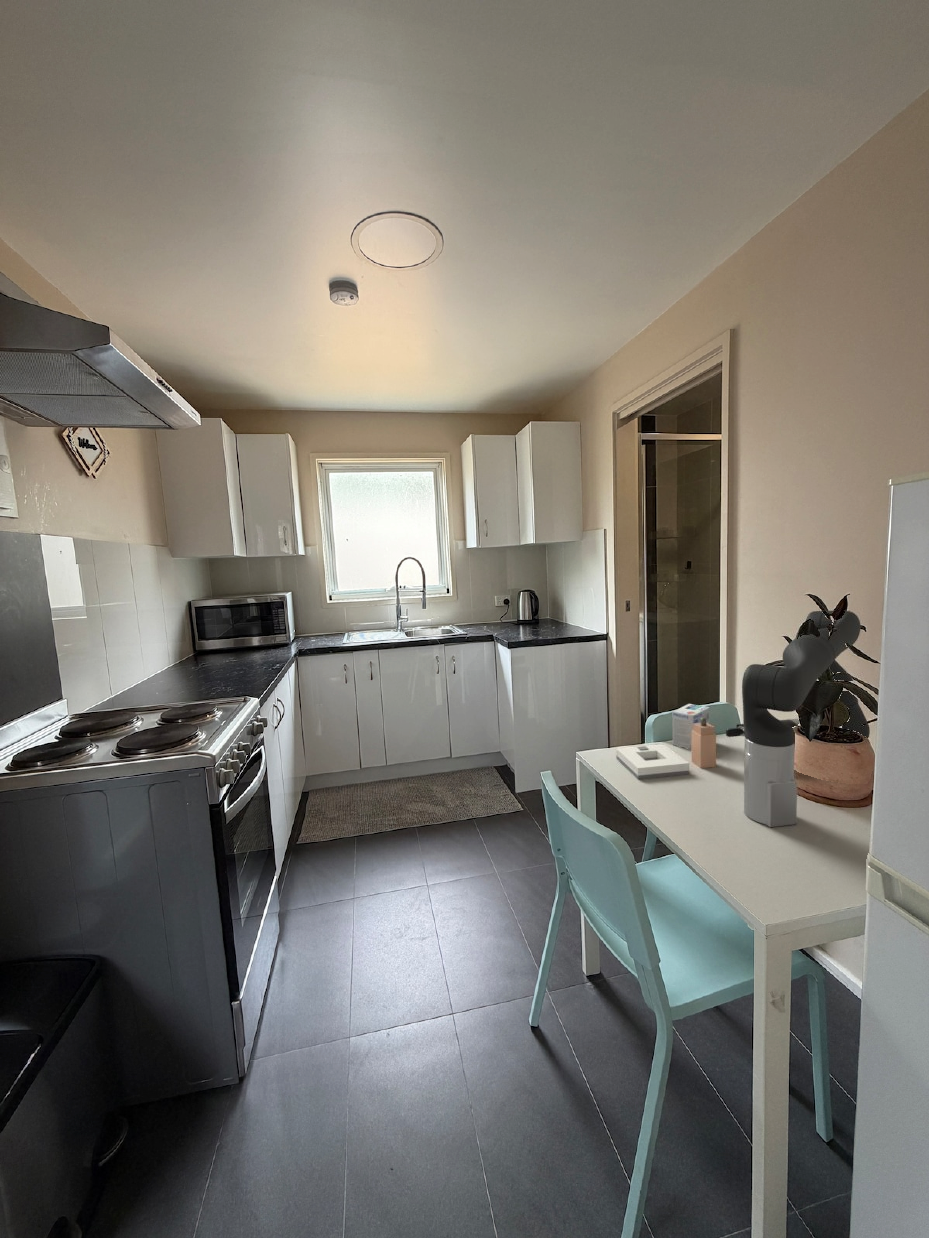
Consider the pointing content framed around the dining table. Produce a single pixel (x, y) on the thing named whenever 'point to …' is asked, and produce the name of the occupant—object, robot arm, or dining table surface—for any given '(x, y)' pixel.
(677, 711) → the light bulb box
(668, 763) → the socket plate
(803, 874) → the dining table surface
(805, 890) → the dining table surface
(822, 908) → the dining table surface
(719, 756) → the dining table surface
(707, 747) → the plug
